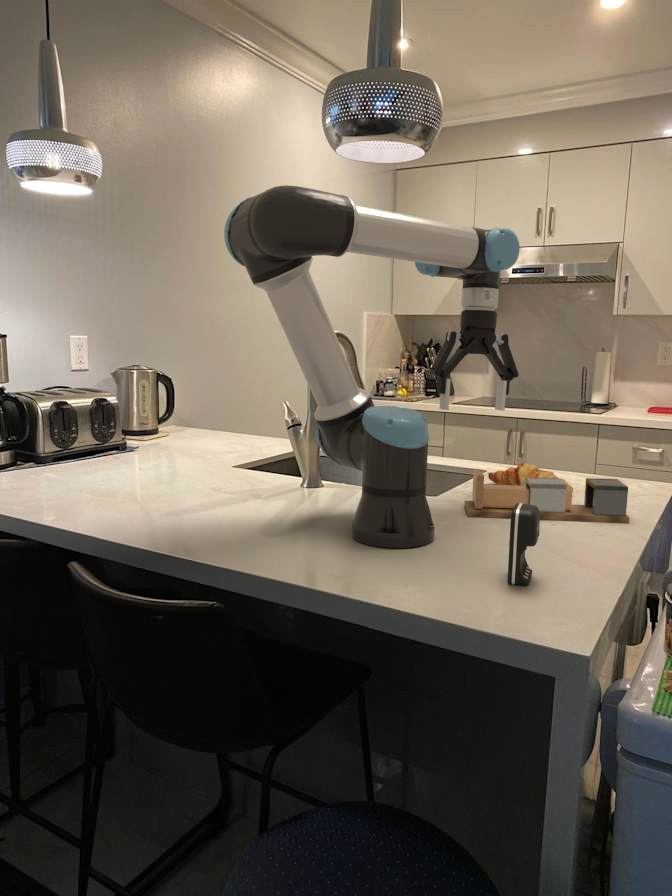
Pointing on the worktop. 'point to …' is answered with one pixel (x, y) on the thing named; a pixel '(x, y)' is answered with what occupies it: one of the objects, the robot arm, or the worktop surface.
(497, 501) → the wood grain post
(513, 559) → the battery charger
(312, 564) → the worktop surface
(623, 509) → the grey box
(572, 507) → the board
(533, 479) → the grey concrete cube
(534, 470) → the croissant
